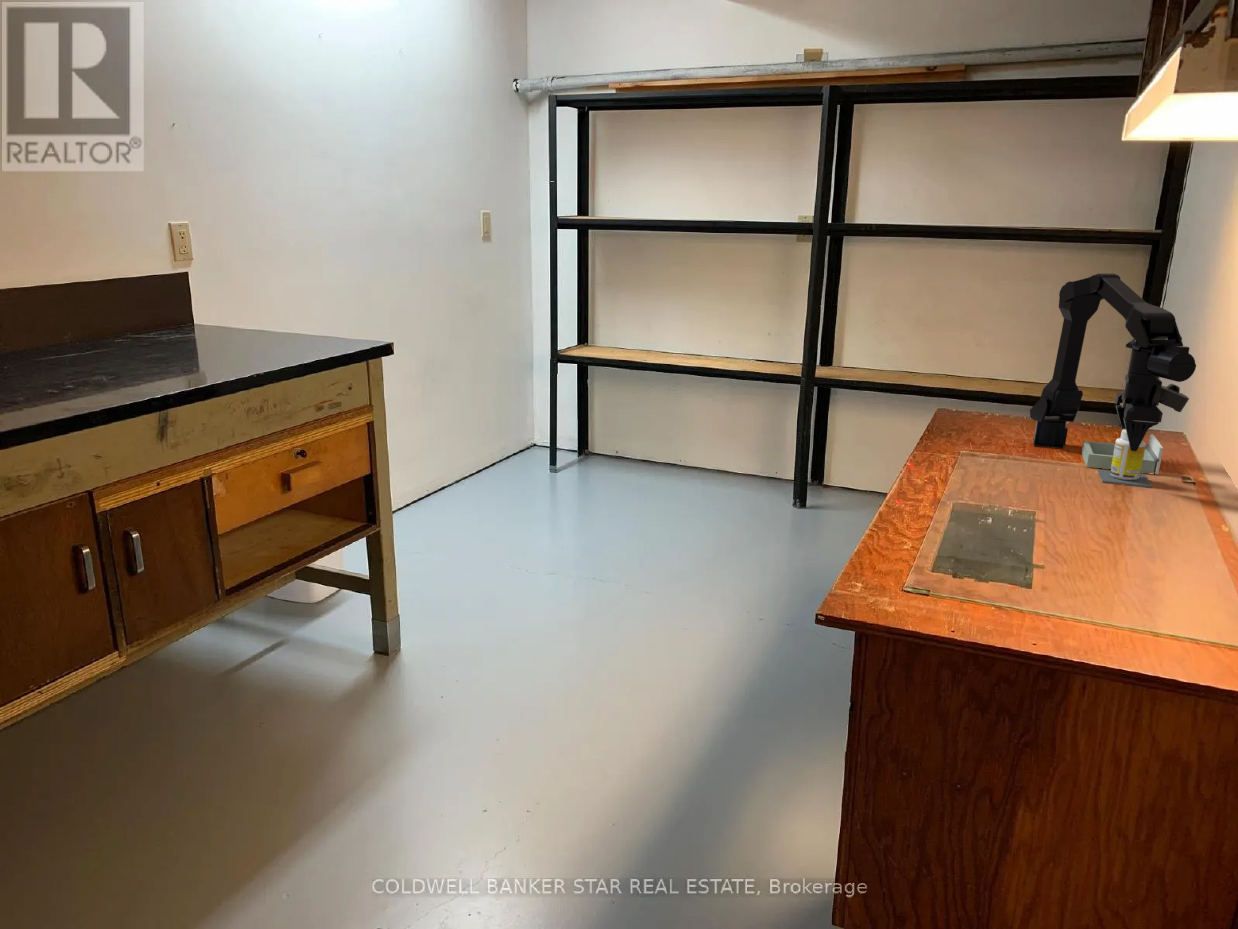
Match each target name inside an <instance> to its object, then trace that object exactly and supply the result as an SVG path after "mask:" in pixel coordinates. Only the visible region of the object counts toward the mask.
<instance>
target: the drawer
mask: <svg viewBox="0 0 1238 929" xmlns="http://www.w3.org/2000/svg"><path fill="white" fill-rule="evenodd" d="M1114 447H1115V443H1111V442H1101V441H1100V442H1099V441H1089V440H1083V441H1082V448H1081V456H1082V458H1083V461H1084V463H1085V464H1084V465H1085V467H1086V466H1087V467H1086V468H1090V467H1094V468H1093V469H1099V468H1102V469H1101V470H1109V469H1111V465H1112V459H1113V453H1114ZM1163 453H1164V447H1163V446H1162V444H1161V443H1160V441H1159V440H1158V439H1157V437H1156V436H1155V435H1154V434H1153V433H1152V434H1149V440H1148V443H1147V444H1146V446H1145V451H1144V457H1143V462H1142V468H1141V472H1143V473H1142V474H1147V473H1153V474H1154V472H1155V474H1154V475H1156V474H1158V475H1159V473H1160V467H1161V462H1162V456H1163Z"/></svg>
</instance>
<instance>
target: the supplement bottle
mask: <svg viewBox="0 0 1238 929" xmlns="http://www.w3.org/2000/svg"><path fill="white" fill-rule="evenodd" d="M1114 444H1115V447H1114V453H1113V459H1112V465H1111V470H1109V471H1110V474H1111V476H1113V477H1114V478H1117V479H1122V480H1137V479H1139V477H1140V474H1142V473H1141V468H1142V462H1143V457H1144V451H1145V447H1146V445H1147V444H1146V441H1144V440H1142V442H1141V444H1140V446H1139V448H1138V450H1137V451H1131V449H1130V445H1129V441H1128V436H1127V432H1126V429H1123V430H1122V429H1121V433H1120V437H1118V438H1117V439H1115V443H1114Z"/></svg>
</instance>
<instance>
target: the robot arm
mask: <svg viewBox="0 0 1238 929" xmlns="http://www.w3.org/2000/svg"><path fill="white" fill-rule="evenodd" d="M1058 298H1059V299H1058V309H1059V311H1060V313H1061V316H1062V318H1063V321H1062V322H1063V323H1062V327H1061V332H1060V338H1059V343H1058V348H1057V353H1056V357H1055V358H1056V359H1055V364H1054V368H1053V375H1052V378H1051V380H1050V381H1049V382H1048V383H1047V384H1046V385H1045V386H1044V387H1043V389H1042V392H1041V395H1040V398H1039V400H1038V401H1037V402H1036V403H1035V404H1034V405H1033V406H1032V407H1031V408H1030V410H1029V418H1030V419H1031V420H1033V421H1036V423H1035V430H1034V436H1033V438H1032V443H1033V446H1034V447H1043V448H1044V447H1045V448H1054V449H1064V446H1065V445H1066V441H1067V437H1068V426H1067V423H1069V422H1070V423H1072V422H1074V420H1075V418H1076V416H1077V414H1078V412H1079V409H1080V408H1081V407H1082V399H1083V393H1084V392H1083V391H1082V390H1081V389H1080V388H1079V387H1078V385H1077V383H1076V380H1077V376H1078V371H1079V366H1080V360H1081V356H1082V350H1083V345H1084V341H1085V337H1086V336H1085V335H1086V330H1087V326H1088V322H1089V320H1090V319H1091V318H1092V317H1093V316H1094V315H1095V314H1096V312H1097V311H1098V309H1099V306H1100V303H1101V301H1102V300H1104V301H1105V302H1107V303H1108V304H1109V305H1110V306H1111V307H1112V308H1113V309H1114V310H1115V312H1117V313H1119V314H1120V315H1121V316H1122V318H1123V319H1124V320H1125V323H1124V324H1125V325H1124V328H1125V329H1126V330H1127V332H1128V333H1129V334H1130V336H1131V337H1132V338H1133V339H1132V340H1130V341H1128V342H1127V343H1126V344H1125V348H1127V349H1131V353H1130V359H1129V364H1128V369H1127V374H1125V375H1124V380H1125V385H1124V390H1121V391H1119V392H1117V393H1116V394H1115V399H1114V403H1115V408H1116V412H1117V416H1118V420H1119V424H1120V426H1121V428H1120V429H1121V431H1122V430H1123V429H1126V432H1127V436H1128V441H1129V445H1130V449H1131V451H1137V450H1138V448H1139V446H1140V444H1141V442H1142V440H1143V439H1144V438H1145V436H1146V433H1147V432H1148V430H1149V429H1150V428H1153V427H1154V426H1157V425H1159V424H1160V423H1162V419H1163V412H1162V410H1161V409H1160V408H1159V405H1160V404H1161V405H1162V406H1166V407H1168V408H1170V409H1173V411H1175V412H1178V413H1182V411H1183V409H1184V408H1185V406H1186V405H1187V403H1188V402H1189V400H1190V398H1189V397H1188V396H1187V395H1186V394H1185V393H1181V392H1180V389H1181V388H1180V386H1178V385H1176V384H1174V383H1170V384H1167V385H1166V386H1164V385H1163V382H1162V380H1161V378H1162V379H1164V380H1165V379H1166V380H1170V381H1173V382H1178V383H1181V382H1185V381H1187V380H1188V379H1190V378H1191V377H1192V376H1193V375H1194V373H1195V371H1196V368H1197V364H1196V360H1195V357H1194V356H1193V355H1192V354H1190V347H1189V346H1186V345H1185V346H1184V344H1183V338H1182V336H1181V334H1180V333H1181V332H1180V331H1179V327H1178V325H1177V321H1176V320H1177V319H1176V318H1175V317H1176V316H1175V315H1174V314H1173V313H1172V312H1170V311H1169V310H1167V309H1165V308H1163V307H1160V306H1156V305H1153V304H1151V303H1148V302H1147V301H1146V300H1144V298H1142V297H1141V296H1139V295H1138V294H1137V293H1136V292H1135V291H1134V290H1133V289H1132V288H1131V287H1130V286H1128V285H1127V284H1126V283H1125V282H1124V281H1123V280H1121V277H1120V275H1119V274H1116V273H1096V274H1093V275H1091V276H1088V277H1087V278H1086V277H1085V278H1081V279H1078V280H1074V281H1072V280H1071V281H1070V280H1069V281H1067V282H1066V283H1065V284H1064V285H1062V287H1061V288H1060V290H1059V295H1058ZM1143 441H1144V440H1143Z"/></svg>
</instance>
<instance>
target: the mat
mask: <svg viewBox="0 0 1238 929" xmlns="http://www.w3.org/2000/svg"><path fill="white" fill-rule="evenodd" d="M1110 471H1111V470H1109V469H1097V472H1099V473H1098V475H1099V478H1100V477H1101V478H1100V480H1101V479H1102V480H1101V483H1103V484H1111V483H1115V484H1114V485H1120V484H1124V485H1123V486H1131V487H1139V486H1141V488H1147V489H1148V488H1149V489H1152V487H1153V486H1152V484H1151V482H1150V480H1149V478H1148V477H1147V476H1146V475H1147V474H1146V473H1140V477H1139V479H1137V480H1122V479H1117V478H1114V477H1113V476H1111V474H1110Z"/></svg>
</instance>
